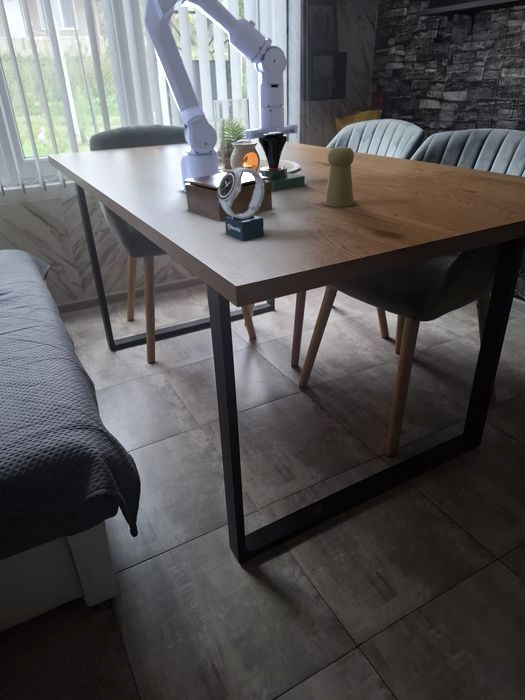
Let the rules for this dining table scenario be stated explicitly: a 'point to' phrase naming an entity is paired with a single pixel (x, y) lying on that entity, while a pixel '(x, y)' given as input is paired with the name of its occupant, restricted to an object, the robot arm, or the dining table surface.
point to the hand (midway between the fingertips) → (273, 167)
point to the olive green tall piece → (340, 177)
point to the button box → (282, 178)
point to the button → (273, 168)
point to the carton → (207, 202)
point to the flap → (245, 177)
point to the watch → (246, 222)
